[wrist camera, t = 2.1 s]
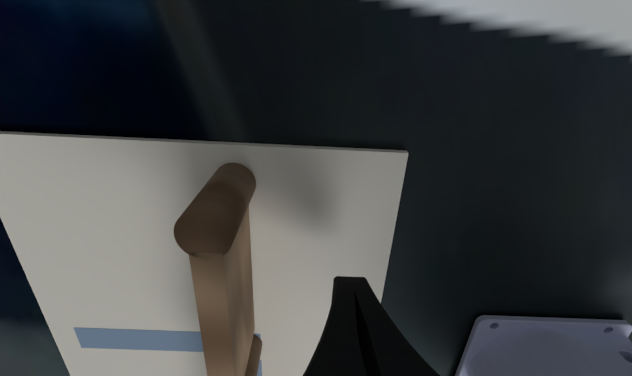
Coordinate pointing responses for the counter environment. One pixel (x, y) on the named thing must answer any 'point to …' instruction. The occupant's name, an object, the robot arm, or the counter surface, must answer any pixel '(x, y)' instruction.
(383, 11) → the counter surface
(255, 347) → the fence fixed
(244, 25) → the counter surface
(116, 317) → the board
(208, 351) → the swing rail
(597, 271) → the counter surface
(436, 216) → the counter surface
